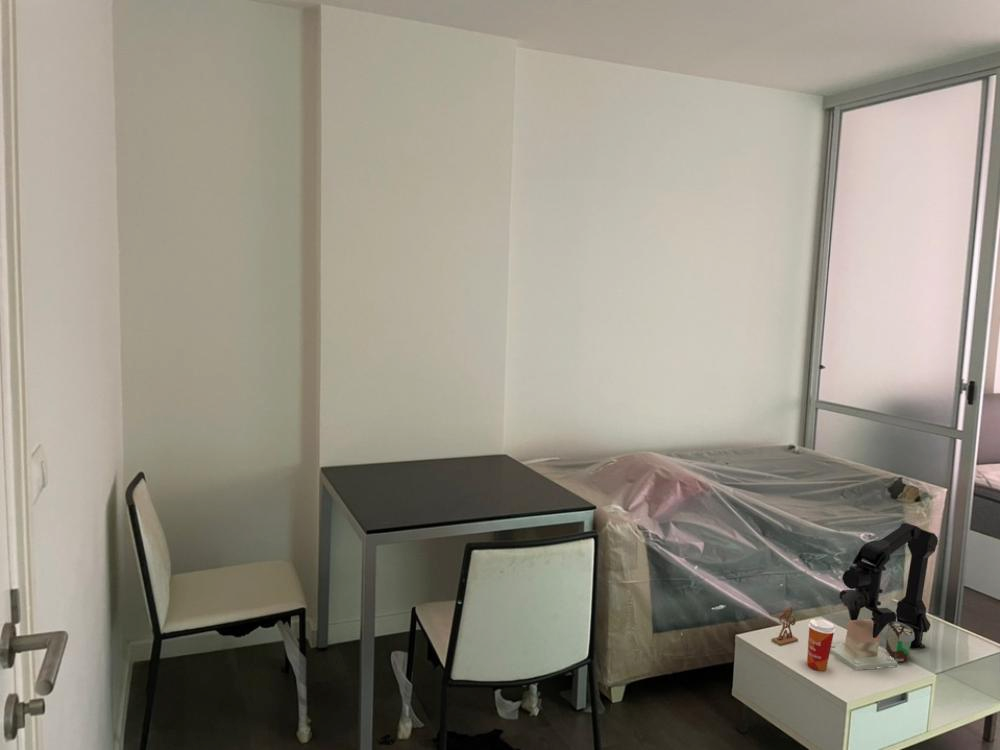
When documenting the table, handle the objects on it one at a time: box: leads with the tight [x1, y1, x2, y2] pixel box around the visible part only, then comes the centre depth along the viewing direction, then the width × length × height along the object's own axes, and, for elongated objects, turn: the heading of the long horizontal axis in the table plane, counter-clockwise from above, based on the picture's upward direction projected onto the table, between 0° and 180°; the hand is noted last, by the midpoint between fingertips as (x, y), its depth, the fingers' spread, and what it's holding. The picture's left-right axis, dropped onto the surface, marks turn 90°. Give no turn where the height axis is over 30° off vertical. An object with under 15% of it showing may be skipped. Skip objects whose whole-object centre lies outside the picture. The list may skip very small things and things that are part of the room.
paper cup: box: [806, 619, 836, 672], centre depth 237 cm, size 8×8×14 cm
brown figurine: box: [770, 605, 799, 647], centre depth 254 cm, size 9×4×12 cm, turn 121°
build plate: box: [830, 642, 899, 671], centre depth 246 cm, size 16×14×2 cm
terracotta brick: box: [846, 618, 882, 643], centre depth 245 cm, size 8×6×5 cm
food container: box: [885, 620, 915, 664], centre depth 248 cm, size 12×6×10 cm, turn 168°
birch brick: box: [844, 634, 880, 658], centre depth 246 cm, size 8×6×5 cm
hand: (863, 631), depth 245 cm, fingers open, 9 cm apart
